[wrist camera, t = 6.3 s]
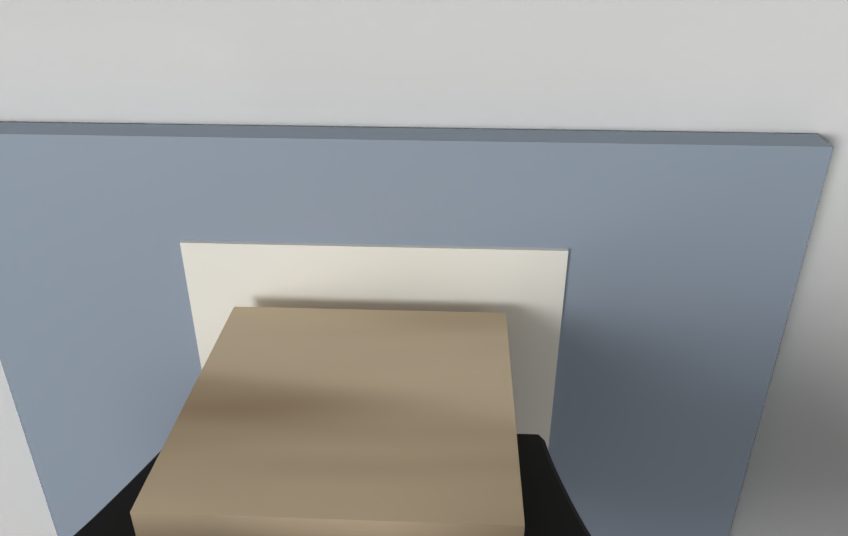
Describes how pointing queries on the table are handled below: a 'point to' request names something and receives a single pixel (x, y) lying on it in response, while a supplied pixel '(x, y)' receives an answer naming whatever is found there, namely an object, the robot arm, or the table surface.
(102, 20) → the table surface
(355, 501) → the oak cube
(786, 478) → the table surface
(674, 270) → the board
